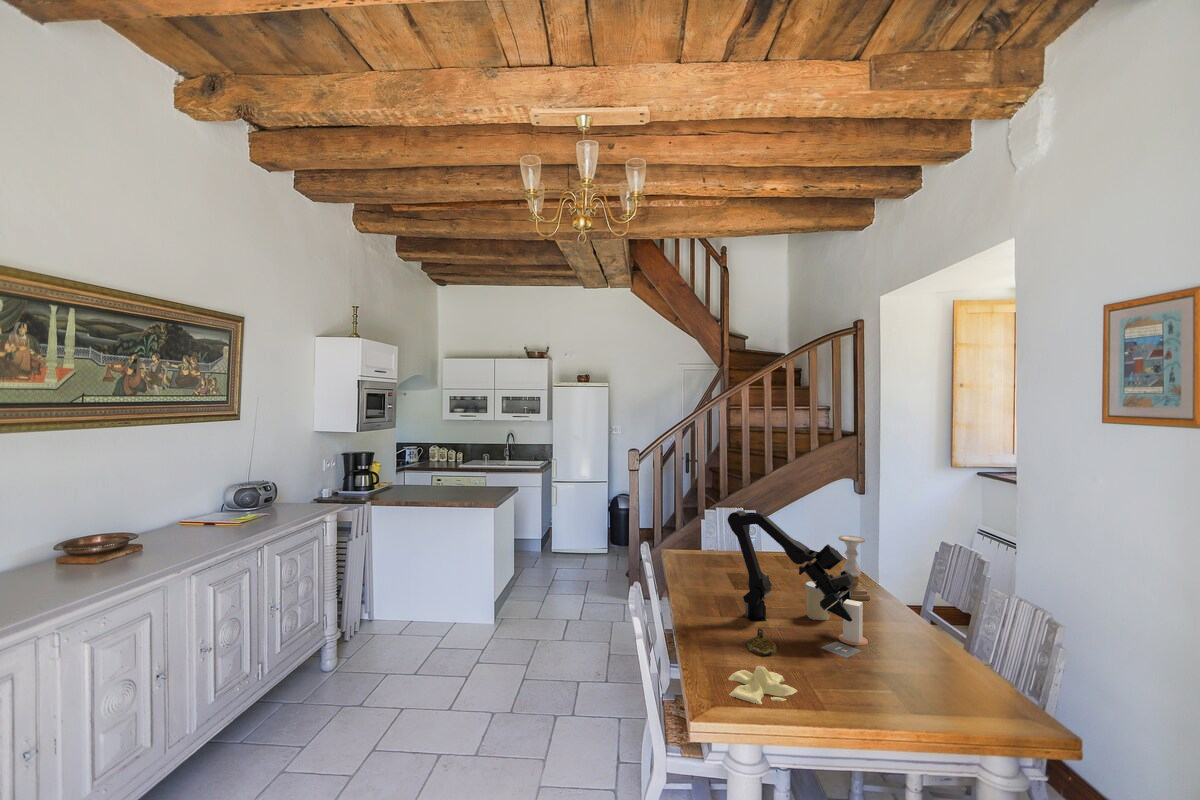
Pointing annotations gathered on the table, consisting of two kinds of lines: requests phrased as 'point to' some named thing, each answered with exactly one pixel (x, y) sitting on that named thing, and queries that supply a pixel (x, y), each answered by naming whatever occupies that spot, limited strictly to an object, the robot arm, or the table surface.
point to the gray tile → (841, 649)
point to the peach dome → (862, 642)
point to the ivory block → (853, 621)
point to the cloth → (759, 685)
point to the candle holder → (854, 566)
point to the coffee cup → (815, 603)
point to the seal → (761, 645)
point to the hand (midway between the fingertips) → (854, 617)
